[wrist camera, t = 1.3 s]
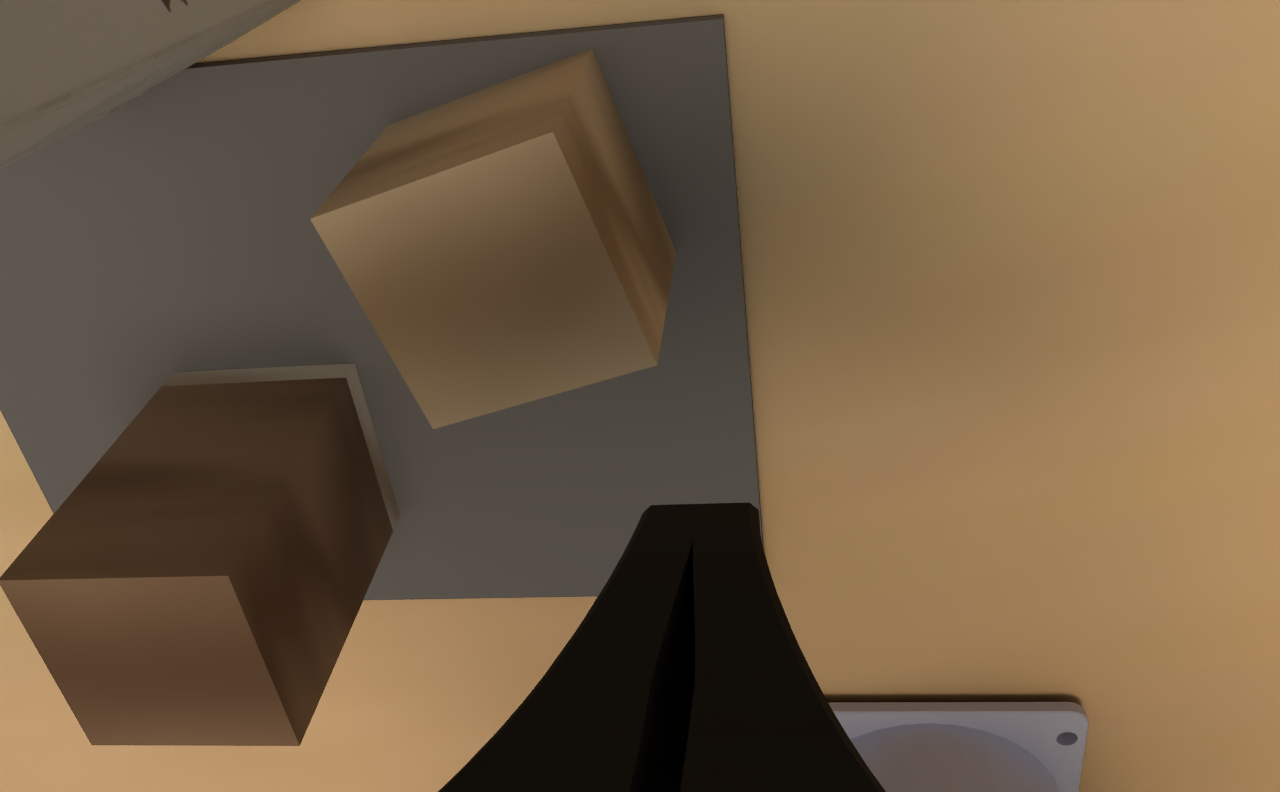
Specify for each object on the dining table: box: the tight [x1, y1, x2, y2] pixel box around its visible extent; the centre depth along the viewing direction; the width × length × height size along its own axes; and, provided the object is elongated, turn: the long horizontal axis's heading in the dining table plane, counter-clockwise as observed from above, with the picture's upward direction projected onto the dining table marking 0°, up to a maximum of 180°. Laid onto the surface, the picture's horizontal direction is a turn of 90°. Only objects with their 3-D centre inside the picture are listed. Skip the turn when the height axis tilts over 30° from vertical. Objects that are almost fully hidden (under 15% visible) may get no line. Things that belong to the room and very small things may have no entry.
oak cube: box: [310, 48, 676, 429], centre depth 20 cm, size 4×4×4 cm
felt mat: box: [0, 15, 763, 600], centre depth 25 cm, size 14×18×1 cm
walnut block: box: [0, 363, 400, 746], centre depth 24 cm, size 4×4×7 cm
